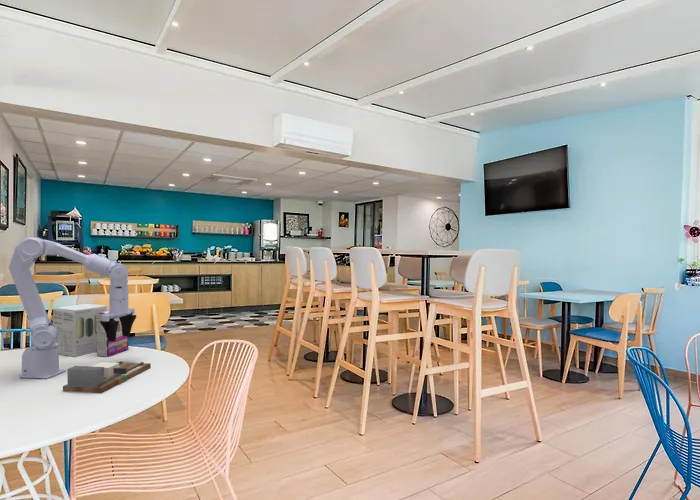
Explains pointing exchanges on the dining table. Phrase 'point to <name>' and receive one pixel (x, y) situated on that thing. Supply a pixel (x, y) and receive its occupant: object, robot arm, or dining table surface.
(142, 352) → the dining table surface
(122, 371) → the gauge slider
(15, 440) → the dining table surface
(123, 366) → the base
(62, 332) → the supplement box
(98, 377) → the dark grey block
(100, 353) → the candy bar box
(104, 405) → the dining table surface
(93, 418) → the dining table surface
